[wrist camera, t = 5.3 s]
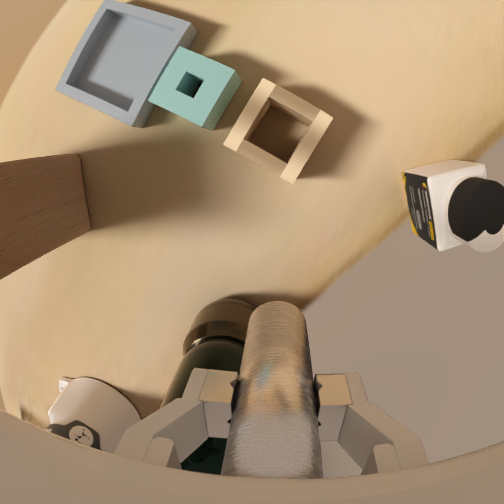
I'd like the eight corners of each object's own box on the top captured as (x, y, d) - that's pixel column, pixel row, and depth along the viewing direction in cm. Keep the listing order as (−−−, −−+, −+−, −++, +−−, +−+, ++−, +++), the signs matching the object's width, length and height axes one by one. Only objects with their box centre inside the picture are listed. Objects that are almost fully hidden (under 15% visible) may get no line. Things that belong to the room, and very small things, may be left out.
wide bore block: (290, 179, 32) (292, 184, 27) (231, 145, 31) (223, 144, 26) (325, 122, 29) (333, 117, 25) (265, 88, 29) (263, 77, 24)
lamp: (189, 295, 37) (106, 437, 16) (270, 291, 36) (253, 454, 15) (203, 359, 40) (152, 501, 19) (276, 358, 39) (266, 514, 18)
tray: (143, 127, 31) (131, 126, 28) (69, 92, 30) (55, 90, 27) (198, 32, 27) (191, 22, 24) (116, 7, 26) (105, -2, 23)
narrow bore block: (213, 130, 31) (201, 126, 26) (166, 106, 30) (147, 100, 25) (242, 81, 29) (235, 70, 24) (193, 59, 28) (179, 46, 24)
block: (95, 230, 35) (-25, 298, 16) (42, 237, 37) (-66, 295, 18) (82, 151, 32) (-53, 171, 13) (30, 168, 34) (-88, 196, 15)
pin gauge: (266, 358, 15) (248, 560, 5) (235, 316, 14) (180, 531, 4) (317, 334, 14) (346, 546, 4) (288, 289, 13) (295, 520, 4)
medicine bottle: (399, 171, 30) (455, 184, 19) (452, 158, 29) (517, 168, 17) (411, 233, 32) (464, 272, 21) (461, 218, 31) (522, 249, 19)
